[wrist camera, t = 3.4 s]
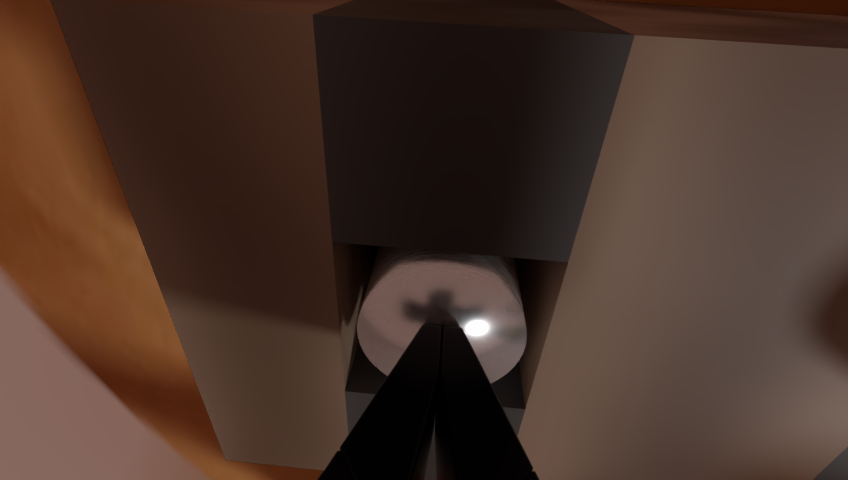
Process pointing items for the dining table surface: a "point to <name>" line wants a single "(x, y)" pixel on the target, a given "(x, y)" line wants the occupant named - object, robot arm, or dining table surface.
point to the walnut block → (498, 213)
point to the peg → (443, 305)
